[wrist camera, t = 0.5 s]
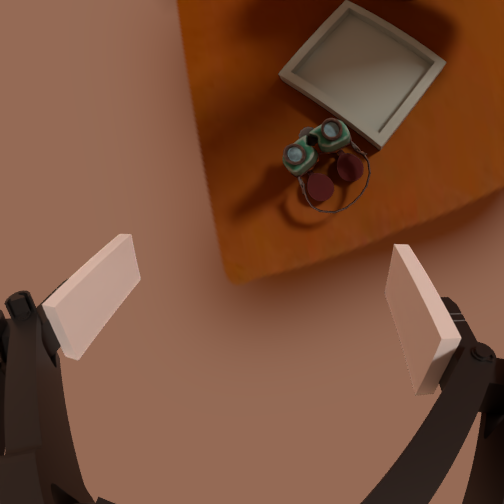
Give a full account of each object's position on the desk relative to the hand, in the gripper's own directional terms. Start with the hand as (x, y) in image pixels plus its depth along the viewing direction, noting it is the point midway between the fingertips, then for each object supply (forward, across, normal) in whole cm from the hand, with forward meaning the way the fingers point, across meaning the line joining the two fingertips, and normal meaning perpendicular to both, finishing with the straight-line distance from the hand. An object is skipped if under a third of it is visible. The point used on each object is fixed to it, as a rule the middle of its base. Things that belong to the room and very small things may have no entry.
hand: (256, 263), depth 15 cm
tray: (+30, +11, +13) cm, 34 cm away
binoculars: (+26, +6, -1) cm, 27 cm away
